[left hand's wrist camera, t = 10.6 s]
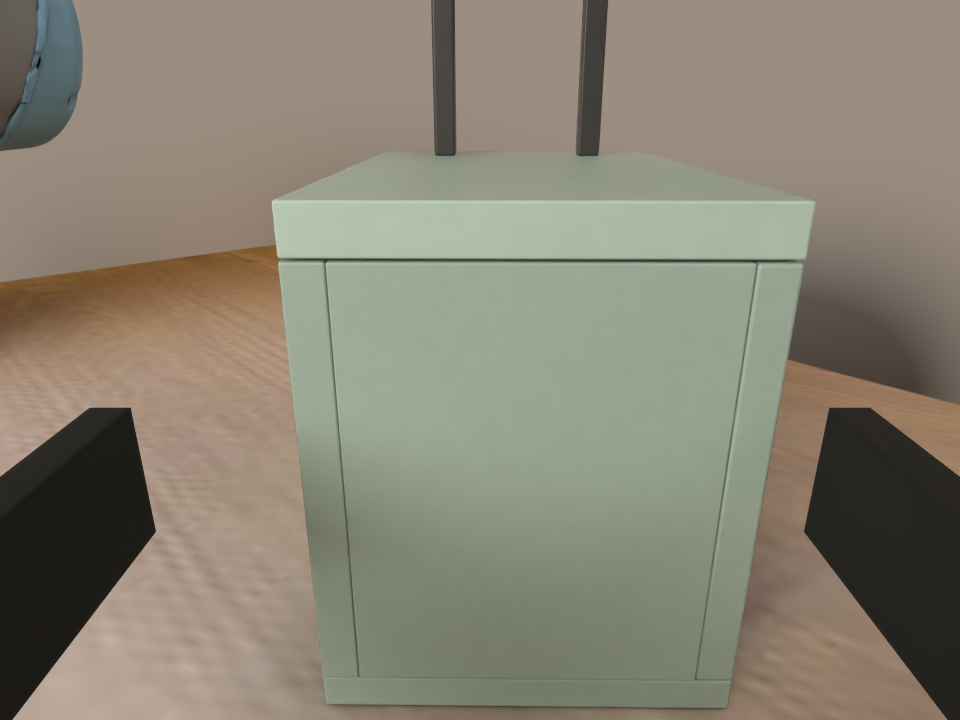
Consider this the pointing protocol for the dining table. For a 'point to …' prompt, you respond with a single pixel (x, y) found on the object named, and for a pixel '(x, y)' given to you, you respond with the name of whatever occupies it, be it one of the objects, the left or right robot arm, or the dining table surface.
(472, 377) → the chest
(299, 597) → the dining table surface
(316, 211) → the lid
